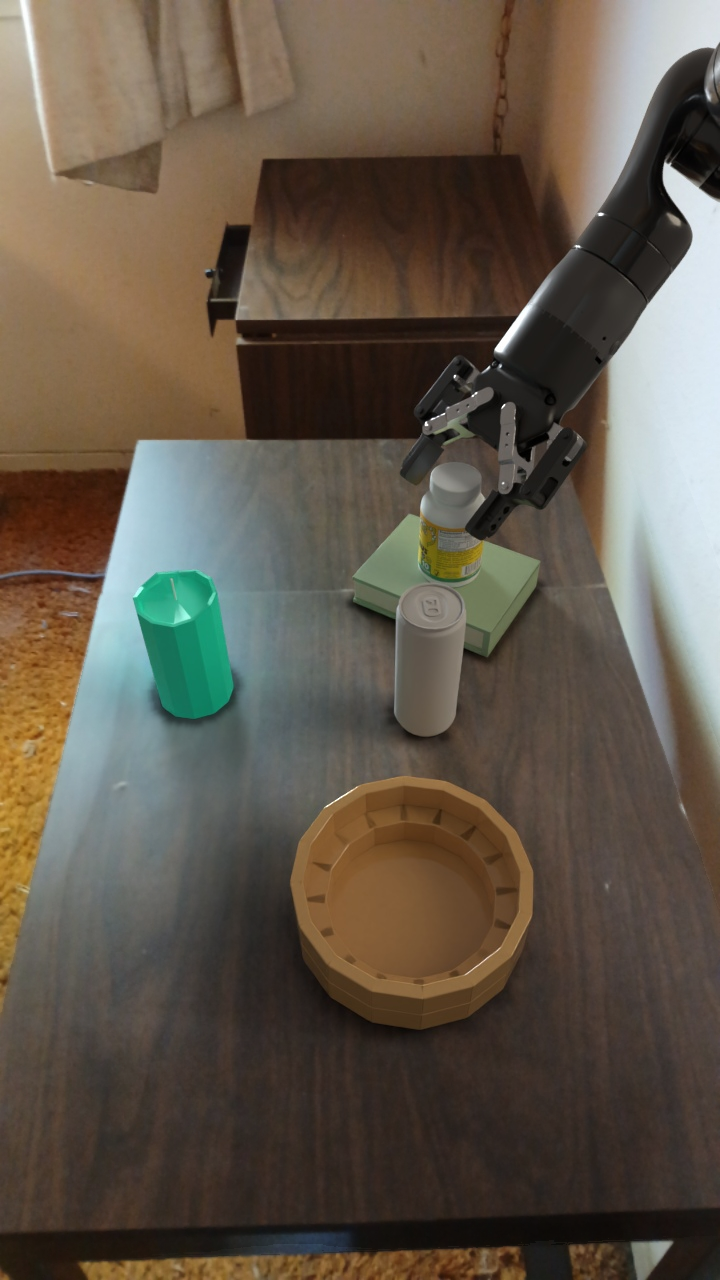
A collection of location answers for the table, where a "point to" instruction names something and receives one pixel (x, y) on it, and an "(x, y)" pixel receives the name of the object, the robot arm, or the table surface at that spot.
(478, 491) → the supplement bottle
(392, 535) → the book
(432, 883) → the bowl
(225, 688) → the candle
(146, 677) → the table surface
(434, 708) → the beverage can
